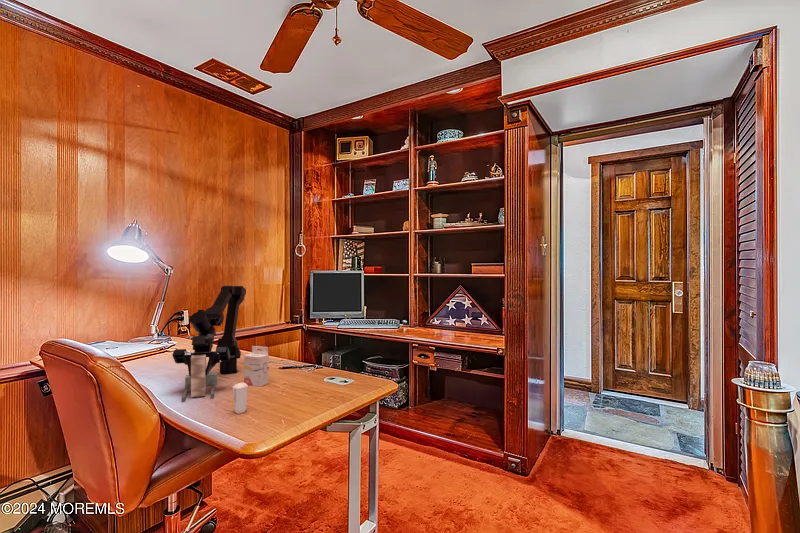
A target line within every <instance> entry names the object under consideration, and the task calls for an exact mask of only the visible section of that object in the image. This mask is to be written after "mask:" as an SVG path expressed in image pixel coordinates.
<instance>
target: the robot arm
mask: <svg viewBox="0 0 800 533" xmlns="http://www.w3.org/2000/svg"><path fill="white" fill-rule="evenodd" d="M246 295H247V289H246V287H244V286H243V285H223V286H221V287H220V291H219V293H218V295H217V296H216V298H215V300H214V302H213V304H212V306H210V307H208V308H206V310H204V309H198V310H197V311H196V312H194V313H193V314H191V315H190V316H189V319H188V320H189V323H190V324H191V326H192V328H193V329H194V331H195V332H197V334H198V335H193V336H192V339H191V346H192V350H193V351H191V350H190V351H188V350H187V349H186V348H178V349H175V350H173V352H172V358H173V361H174V362H175V364H184V365H186V366H187V371H188V375H189V376H191V357H192V355H202V354H206V358H208V361H207V363H206V372H205V375H208V373H211V370H212V369H214V367H215V366H216V365H217V364H219V373H220V375H227V374H228V375H229V374H237V373H238V366H237V364H238V359H241V357H242V352H241V349H240V348H239V346H238V345H239V343H238V340H237V338H236V333H237V332H236V330H237V323H238V319H239V311H240V305H242V303H243V302H244V300H245V296H246ZM226 307H227V310H226V316H225V315H224V311H225V309H226ZM224 320H225V321H224ZM224 322H225V323H224ZM223 323H224V328H223V329H224V330H223V335H222V336H221V337H218V339H217V344H216V347H215V351H212V349H213V347H214V342H215V341H214V340H215V336H217V332H216V327H220V326H222V324H223Z"/></svg>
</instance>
